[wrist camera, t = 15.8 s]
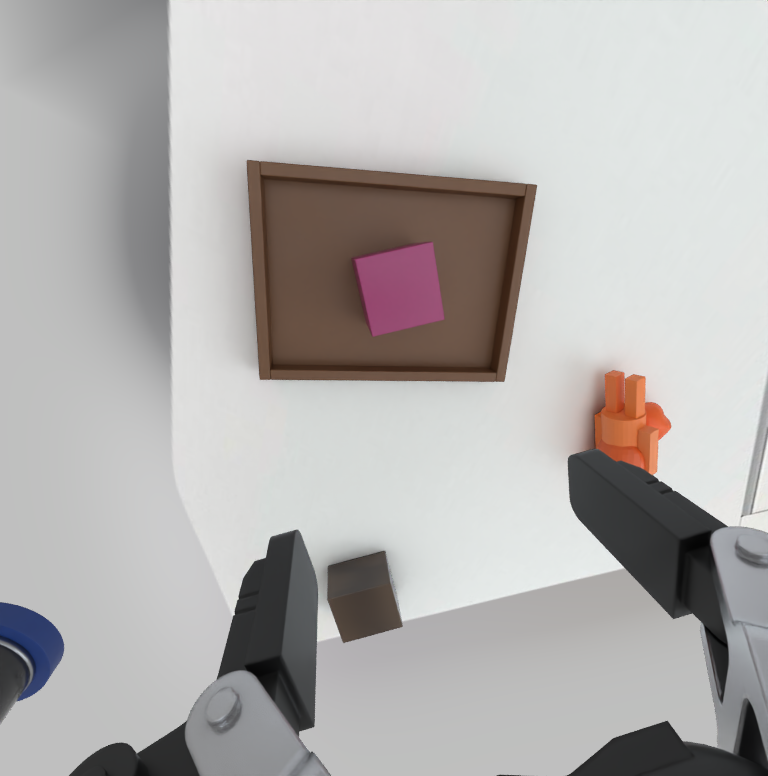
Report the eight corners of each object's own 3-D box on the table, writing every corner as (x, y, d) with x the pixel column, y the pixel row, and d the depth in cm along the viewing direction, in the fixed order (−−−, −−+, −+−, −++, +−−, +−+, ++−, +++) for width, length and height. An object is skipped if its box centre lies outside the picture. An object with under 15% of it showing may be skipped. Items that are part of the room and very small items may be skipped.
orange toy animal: (633, 394, 29) (632, 516, 34) (692, 362, 32) (684, 479, 36) (576, 379, 34) (582, 489, 38) (632, 352, 36) (631, 458, 41)
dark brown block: (342, 607, 41) (343, 643, 37) (327, 565, 39) (327, 599, 35) (396, 592, 41) (402, 627, 37) (385, 550, 39) (390, 582, 35)
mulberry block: (366, 323, 30) (372, 337, 25) (350, 257, 28) (354, 259, 24) (427, 308, 30) (444, 319, 26) (416, 242, 28) (433, 241, 24)
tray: (264, 370, 31) (259, 379, 29) (253, 167, 26) (246, 159, 24) (493, 373, 34) (504, 382, 32) (522, 189, 29) (537, 184, 27)
